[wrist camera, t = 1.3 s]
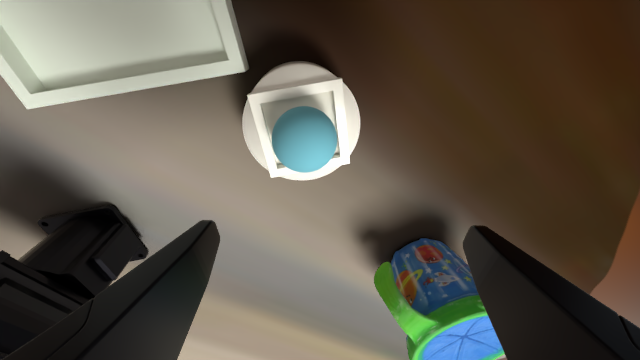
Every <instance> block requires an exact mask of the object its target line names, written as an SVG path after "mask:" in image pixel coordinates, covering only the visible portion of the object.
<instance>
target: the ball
mask: <svg viewBox="0 0 640 360" xmlns="http://www.w3.org/2000/svg"><path fill="white" fill-rule="evenodd" d="M271 139H272V148H273V150H274V153H275V155H276V157H277V158H278V160H279V161H280V162H281V163H282V164H283V165H284V166H286V167H287V168H289V169H291V170H293V171H296V172H301V173H308V172H314V171H316V170H319V169H321V168H322V167H324V166H325V165H326V164H327V163H328V162H329V161H330V160H331V159H332V157H333V155H334V153H335V151H336V147H337V132H336V129H335V126H334V124H333V122H332V121H331V119H330V118H329V117H328V116H327V115H326V114H325V113H324V112H322V111H320V110H318V109H316V108H313V107H309V106H299V107H295V108H292V109H290V110H288V111H286V112H285V113H284V114H282V115H281V116H280V117H279V119H278V120H277V121H276V123H275V125H274V128H273V131H272V138H271Z"/></svg>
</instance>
